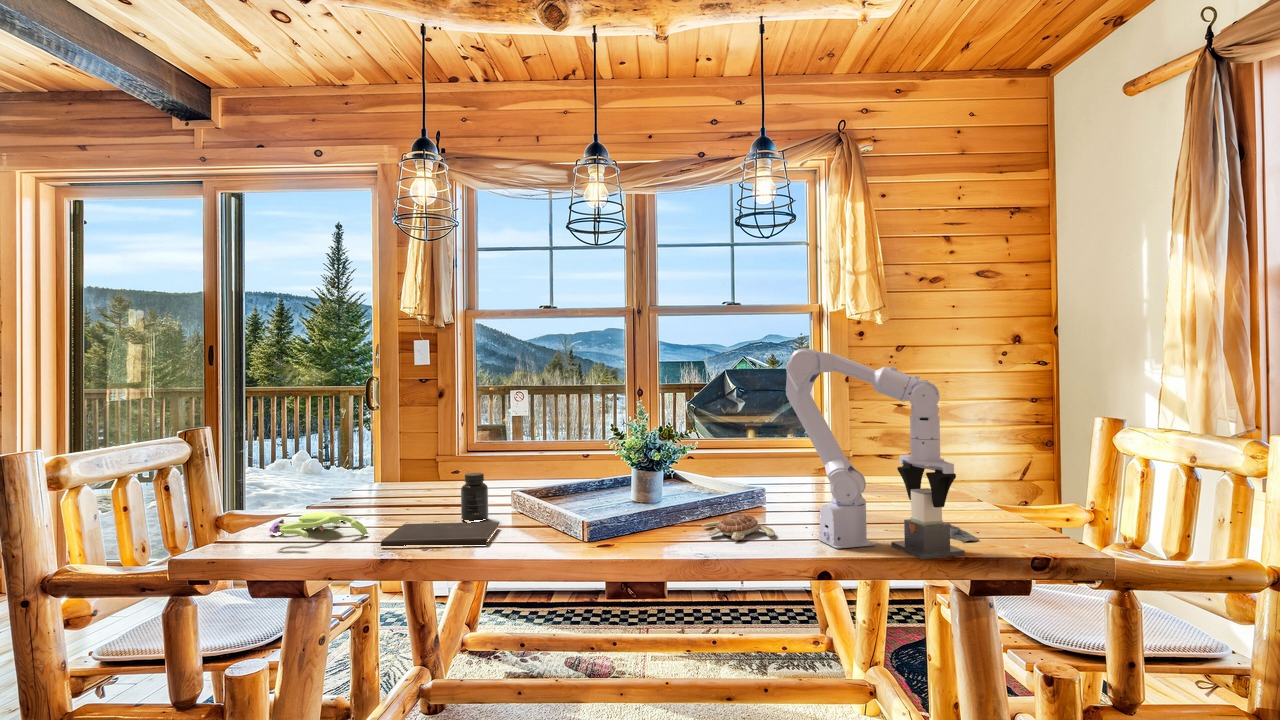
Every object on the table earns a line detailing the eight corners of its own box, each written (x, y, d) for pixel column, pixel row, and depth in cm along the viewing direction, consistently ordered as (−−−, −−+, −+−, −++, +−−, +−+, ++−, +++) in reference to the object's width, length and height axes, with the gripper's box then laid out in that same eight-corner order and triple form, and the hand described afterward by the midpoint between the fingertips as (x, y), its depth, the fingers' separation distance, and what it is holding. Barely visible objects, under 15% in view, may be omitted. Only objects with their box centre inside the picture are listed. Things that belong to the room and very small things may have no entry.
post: (924, 535, 132) (923, 493, 132) (910, 529, 136) (910, 489, 136) (942, 533, 133) (942, 491, 133) (928, 528, 137) (927, 488, 138)
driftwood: (983, 545, 140) (982, 536, 140) (951, 545, 141) (951, 535, 141) (943, 524, 161) (943, 515, 161) (916, 524, 161) (916, 515, 161)
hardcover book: (404, 533, 157) (404, 523, 157) (499, 531, 158) (499, 521, 158) (380, 551, 141) (380, 540, 141) (486, 549, 142) (486, 538, 142)
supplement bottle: (460, 518, 170) (460, 472, 170) (487, 516, 172) (486, 471, 172) (461, 524, 163) (461, 476, 164) (489, 521, 165) (488, 475, 166)
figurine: (284, 556, 138) (284, 529, 138) (262, 532, 159) (261, 509, 159) (373, 540, 150) (373, 516, 150) (342, 520, 170) (341, 499, 170)
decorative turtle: (787, 532, 153) (787, 511, 153) (759, 549, 139) (759, 525, 139) (719, 522, 163) (719, 503, 163) (686, 537, 149) (686, 515, 149)
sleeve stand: (922, 559, 129) (921, 529, 129) (891, 546, 138) (890, 518, 138) (964, 555, 131) (964, 525, 131) (931, 542, 141) (930, 515, 141)
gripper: (966, 441, 129) (967, 509, 129) (918, 434, 143) (919, 495, 143) (936, 442, 127) (937, 511, 127) (890, 435, 141) (891, 497, 141)
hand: (926, 503), depth 135 cm, fingers open, 7 cm apart
